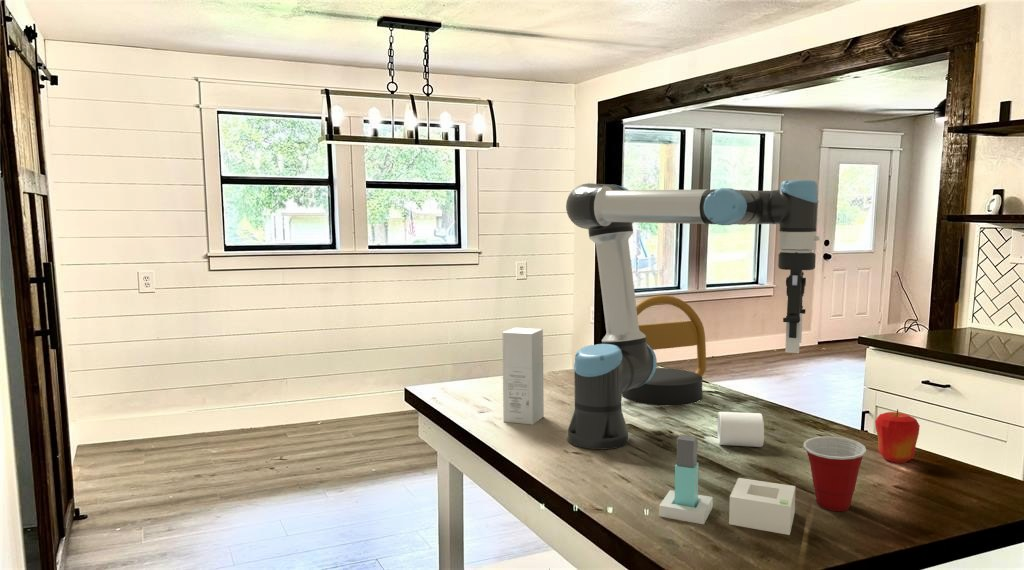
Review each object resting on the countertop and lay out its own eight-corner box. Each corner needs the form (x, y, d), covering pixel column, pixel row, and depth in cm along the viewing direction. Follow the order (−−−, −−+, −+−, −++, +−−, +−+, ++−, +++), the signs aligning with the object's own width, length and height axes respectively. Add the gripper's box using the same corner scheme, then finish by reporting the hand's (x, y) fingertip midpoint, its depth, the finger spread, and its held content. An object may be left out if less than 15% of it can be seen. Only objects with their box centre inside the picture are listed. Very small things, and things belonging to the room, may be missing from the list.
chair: (593, 392, 221) (593, 294, 218) (682, 381, 235) (683, 289, 232) (637, 411, 199) (638, 302, 196) (732, 397, 213) (734, 296, 210)
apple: (925, 462, 155) (928, 410, 154) (902, 468, 151) (904, 415, 150) (889, 451, 162) (891, 401, 161) (866, 456, 159) (868, 406, 158)
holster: (659, 521, 126) (659, 505, 125) (669, 505, 133) (670, 490, 133) (703, 529, 122) (704, 513, 122) (712, 512, 129) (712, 497, 129)
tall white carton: (544, 416, 195) (543, 328, 192) (533, 425, 186) (532, 333, 184) (515, 413, 198) (514, 327, 196) (503, 421, 190) (501, 332, 187)
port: (729, 529, 122) (729, 494, 122) (737, 508, 131) (738, 476, 130) (789, 540, 118) (790, 504, 117) (794, 517, 127) (795, 484, 126)
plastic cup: (790, 503, 133) (791, 442, 132) (821, 490, 139) (823, 432, 138) (844, 522, 124) (846, 458, 123) (875, 508, 130) (877, 446, 129)
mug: (763, 451, 163) (764, 418, 163) (720, 449, 165) (720, 416, 165) (756, 436, 175) (757, 405, 174) (715, 434, 177) (716, 403, 176)
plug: (674, 513, 127) (675, 439, 125) (678, 506, 130) (679, 433, 128) (693, 517, 125) (694, 441, 124) (697, 509, 128) (698, 436, 127)
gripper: (814, 254, 138) (810, 358, 140) (816, 249, 161) (813, 339, 163) (774, 253, 141) (771, 356, 143) (782, 248, 164) (779, 337, 166)
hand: (793, 347), depth 153 cm, fingers open, 13 cm apart
